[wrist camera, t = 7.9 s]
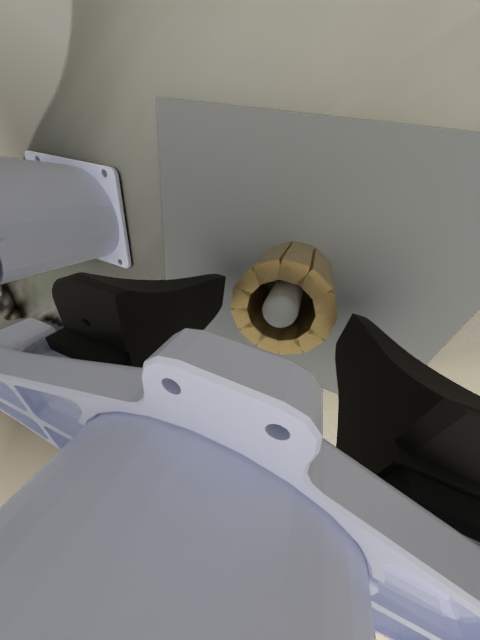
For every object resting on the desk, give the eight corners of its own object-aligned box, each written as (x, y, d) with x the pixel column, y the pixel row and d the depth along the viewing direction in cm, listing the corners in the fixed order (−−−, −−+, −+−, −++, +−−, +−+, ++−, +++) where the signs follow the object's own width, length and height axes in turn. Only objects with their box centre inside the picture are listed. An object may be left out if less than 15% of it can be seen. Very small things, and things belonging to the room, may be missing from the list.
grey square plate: (171, 328, 23) (129, 364, 18) (161, 99, 13) (60, 39, 8) (381, 405, 18) (402, 480, 13) (617, 150, 8) (1028, 84, 3)
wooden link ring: (248, 302, 17) (225, 335, 13) (264, 233, 14) (240, 247, 10) (314, 324, 16) (311, 367, 12) (347, 254, 13) (358, 279, 9)
